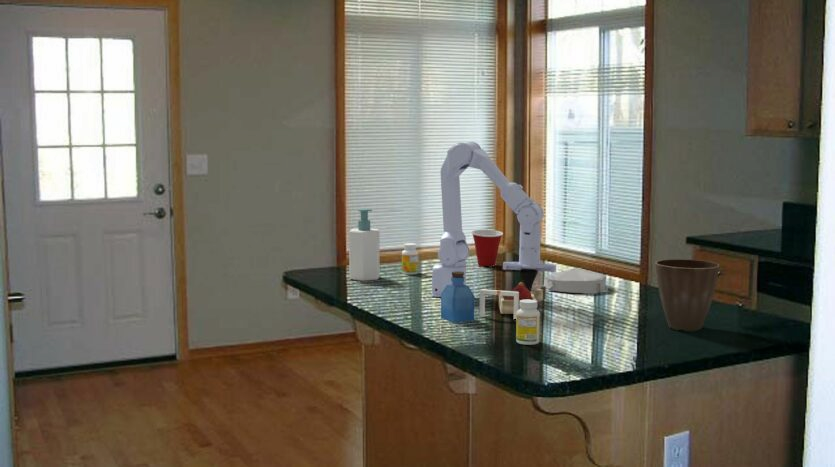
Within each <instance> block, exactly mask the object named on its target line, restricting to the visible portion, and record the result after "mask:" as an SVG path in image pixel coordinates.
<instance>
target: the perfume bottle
mask: <svg viewBox="0 0 835 467" xmlns="http://www.w3.org/2000/svg"><path fill="white" fill-rule="evenodd" d="M463 275H464V272H452V277H451V281H452V284H451V285H447V286H446V287H445V289H444V290H443V292H442V293H441V297H440V319H442V320H445V321H447V322H450V323H462V322H469V321H475V295H474V293H473V292H472V289H471V288H470V286H469V285H467V284H466V285H463V282H464V281H465V277H463Z"/></svg>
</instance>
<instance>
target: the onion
mask: <svg viewBox="0 0 835 467" xmlns="http://www.w3.org/2000/svg"><path fill="white" fill-rule="evenodd" d="M511 291H515V292H519V300H525V299H529V300H532V296H531V293H530V291H529V290H528V289H527V288H526V287H525V284H524V282H523V281H520V282H519V283H518V284H517V286H515V287H514V288H513V289H512V290H511ZM509 300H514V296H510V297H509Z"/></svg>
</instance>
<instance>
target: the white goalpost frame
mask: <svg viewBox="0 0 835 467" xmlns="http://www.w3.org/2000/svg"><path fill="white" fill-rule="evenodd" d="M486 295H492V296H499V295H503V296H514V314H513V320H514V319H516V316H517V311H518V310H519V292H515V291H512V290H501V289H498V290H496V289H485V288H483V289H482V288H481V289H480V290H479V318H484V317H485V316H486V306H485V305H486Z"/></svg>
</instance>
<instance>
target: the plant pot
mask: <svg viewBox="0 0 835 467" xmlns="http://www.w3.org/2000/svg"><path fill="white" fill-rule="evenodd" d="M654 263H655V272H656V273H655V274H656V280H657V286H658V292H659V297H660V300H661V301H660V302H661V305H662V310H663V312H664V316H665V319H666V321H667V324H668V328H670V327H671V328H674V329H680V330H689V331H688V332H692V331H691V330H698V329H700V330H701V329H702V327H703V325H704V322H705V321H706V319H707V315H708V313H709V310H710V307H711V304H712V302H713V301H712V300H713V298H714V294H715V290H716V286H717V282H718V276H719V272H720V271H719V270H720V264H719V263H717V262H712V261H708V260H707V261H706V260H699V259H682V258H680V259H679V258H677V259H675V258H674V259H671V258H670V259H661V260H657V261H655V262H654ZM671 328H670V329H671ZM698 331H699V330H698Z"/></svg>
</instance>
